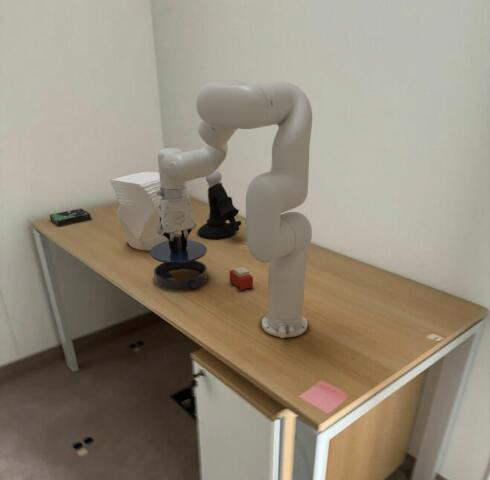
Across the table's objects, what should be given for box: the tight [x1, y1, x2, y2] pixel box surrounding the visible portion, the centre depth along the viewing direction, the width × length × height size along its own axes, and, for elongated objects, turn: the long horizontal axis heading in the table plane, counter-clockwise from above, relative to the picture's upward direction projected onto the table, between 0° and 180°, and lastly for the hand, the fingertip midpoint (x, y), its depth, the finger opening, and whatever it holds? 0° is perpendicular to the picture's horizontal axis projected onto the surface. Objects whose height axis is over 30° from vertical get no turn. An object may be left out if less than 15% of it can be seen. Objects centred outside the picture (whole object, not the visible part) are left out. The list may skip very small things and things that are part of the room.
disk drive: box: [49, 208, 92, 227], centre depth 205 cm, size 10×3×15 cm
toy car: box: [229, 266, 254, 291], centre depth 148 cm, size 8×4×6 cm, turn 30°
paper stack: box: [109, 171, 169, 252], centre depth 176 cm, size 21×27×26 cm
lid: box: [149, 233, 208, 263], centre depth 148 cm, size 18×18×6 cm
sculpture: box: [197, 169, 242, 240], centre depth 182 cm, size 15×24×25 cm, turn 34°
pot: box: [153, 260, 208, 291], centre depth 153 cm, size 17×23×4 cm
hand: (178, 249), depth 149 cm, fingers closed on lid, 2 cm apart
